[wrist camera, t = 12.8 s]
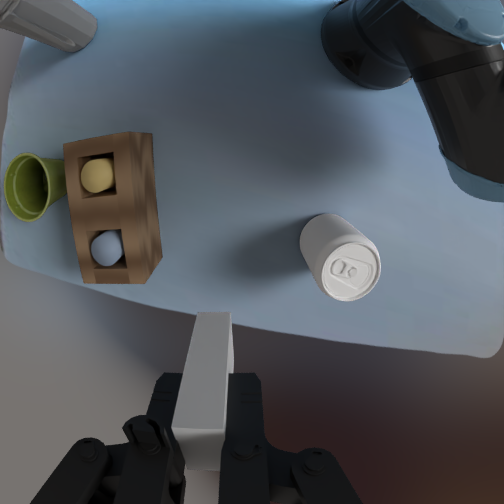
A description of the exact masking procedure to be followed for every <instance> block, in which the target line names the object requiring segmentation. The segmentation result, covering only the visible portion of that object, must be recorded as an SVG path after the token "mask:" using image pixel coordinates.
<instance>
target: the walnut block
mask: <svg viewBox="0 0 504 504" xmlns="http://www.w3.org/2000/svg"><path fill="white" fill-rule="evenodd" d="M63 150H64V164H65V176H66V186H67V194H68V202H69V209H70V216H71V223H72V229H73V234H74V240H75V245H76V250H77V255H78V260H79V265H80V269H81V274H82V278H83V282H84V283H94V284H145V283H146V281H147V280H148V278H149V277H150V275H151V274H152V272H153V271H154V269H155V268H156V266H157V265H158V263H159V262H160V260H161V259H162V249H161V240H160V231H159V222H158V212H157V201H156V189H155V176H154V160H153V140H152V134H151V133H139V132H124V133H117V134H111V135H106V136H100V137H95V138H89V139H84V140H79V141H75V142H70V143H65V144H63ZM109 157H114V167H115V179H116V186H113V187H111V188H108V189H105V190H103V191H100V192H97V193H92V192H89V191H88V190H86V189H85V187H84V186H83V184H82V181H81V172H82V169H83V167H84V165H85V164H86V163H87V162H89V161H91V160H96V159H103V158H109ZM112 229H121V232H122V238H123V245H124V251H125V253H124V254H123V255H122V256H121V257H120V258H119V259H118V260H117V261H116V262H115V263H114V264H113V265H111V266H103V265H101V264H99V263H98V262H97V261H96V260H95V259H94V257H93V255H92V252H91V246H92V243H93V241H94V240H95V239H96V238H97V237H98V236H100V235H101V234H103V233H104V232H105V231H107V230H112Z"/></svg>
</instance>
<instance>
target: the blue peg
mask: <svg viewBox="0 0 504 504" xmlns="http://www.w3.org/2000/svg"><path fill="white" fill-rule="evenodd" d="M91 252H92V255H93V257H94V259H95V260H96V261H97V262H98V263H99V264H101V265H103V266H111V265H113V264H114V263H115V262H116V261H117V260H118V259H119V258H120V257H121V256H122V255H123V254H124V253H125V251H124V245H123V238H122V232H121V229H112V230H107V231H105V232H104V233H103V234H101V235H100V236H98V237H97V238H96V239H95V240H94V241H93V243H92V246H91Z"/></svg>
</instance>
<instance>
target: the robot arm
mask: <svg viewBox="0 0 504 504" xmlns="http://www.w3.org/2000/svg"><path fill="white" fill-rule="evenodd" d="M321 39H322V43H323V47H324V49H325V52H326V54H327V56H328V57H329V59H330V61H331V62H332V63H333V65H334V66H335V67H336V68H337V69H338V70H339V71H340V72H341V73H342V74H343V75H344V76H346V77H347V78H348V79H350V80H351V81H353V82H355V83H357V84H359V85H361V86H364V87H367V88H371V89H377V90H385V89H391V88H394V87H398V86H401V85H403V84H405V83H406V82H408V81H409V80H411V79H412V78H413V79H414V82H415V84H416V87H417V89H418V91H419V93H420V96H421V98H422V100H423V103H424V105H425V107H426V110H427V112H428V115H429V118H430V120H431V123H432V125H433V128H434V131H435V134H436V136H437V139H438V142H439V149H440V152H441V155H442V156H443V157H444V159H445V161H446V164H447V167H448V170H449V173H450V176H451V178H452V180H453V181H454V183H455V184H457V185H458V187H459V188H460V189H461V190H462V191H464V192H465V193H467V194H469V195H471V196H473V197H476V198H479V199H482V200H487V201H492V202H504V50H503V48H502V45H501V42H502V40H503V39H504V8H503V6H502V4H501V2H500V0H341V1H339V2H338V3H336V4H335V5H334V6H333V7H332V8H331V9H330V11H329V12H328V13H327V15H326V16H325V18H324V20H323V23H322V28H321ZM233 366H234V353H233V339H232V326H231V312H198V314H197V318H196V322H195V326H194V330H193V334H192V338H191V343H190V347H189V351H188V355H187V359H186V364H185V368H184V373H163V375H162V376H161V377H160V378H159V379H158V380H157V381H156V384H155V388H154V392H153V394H152V397H151V401H150V404H149V407H148V410H147V413H146V415H139V416H136V417H133V418H131V419H129V420H128V421H127V422H126V423H125V424H124V426H123V427H122V429H123V431H124V433H125V435H126V436H127V438H128V440H129V442H128V443H123V444H116V445H106V446H105V445H104V443H102V442H101V441H100V440H98V439H95V438H83V439H81V440H79V441H77V442H76V443H75V444H74V445H73V446H72V448H71V449H70V450H69V452H68V453H67V454H66V455H65V457H64V458H63V459H62V461H61V462H60V464H59V465H58V466H57V467H56V469H55V470H54V471H53V473H52V474H51V475H50V477H49V478H48V480H47V481H46V482H45V484H44V485H43V486H42V488H41V489H40V491H39V492H38V493H37V495H36V496H35V497H34V499H33V500H32V501H31V503H30V504H184V495H185V487H186V480H185V476H184V468H185V464H186V467H187V469H190V470H206V471H220V481H219V482H220V483H219V501H218V502H219V503H218V504H270V501H273V502H277V503H282V504H363V503H362V502H361V500H360V498H359V497H358V495H357V493H356V492H355V490H354V489H353V487H352V485H351V483H350V482H349V480H348V478H347V477H346V475H345V473H344V472H343V470H342V468H341V467H340V465H339V463H338V462H337V460H336V458H335V457H334V456H333V455H332V454H331V453H330V452H329V451H327V450H325V449H321V448H315V447H314V448H308V449H304V450H302V451H300V452H298V453H292V452H287V451H283V450H279V449H277V448H275V447H273V446H272V445H271V444H270V443H269V442H268V441H267V439H266V438H265V433H264V420H263V405H262V392H261V381H260V380H259V378H258V377H257V375H256V374H255V373H233Z"/></svg>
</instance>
